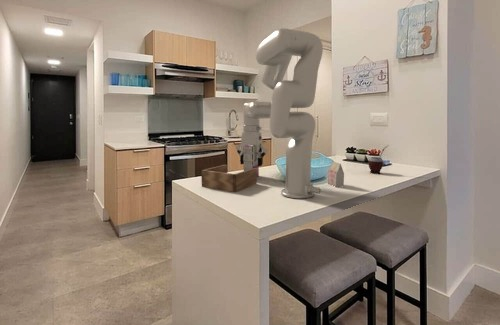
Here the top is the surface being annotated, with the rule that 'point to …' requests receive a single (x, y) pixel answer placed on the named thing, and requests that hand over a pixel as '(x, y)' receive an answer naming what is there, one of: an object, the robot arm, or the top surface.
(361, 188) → the top surface
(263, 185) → the top surface
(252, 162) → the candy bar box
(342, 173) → the toy house
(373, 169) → the mate gourd
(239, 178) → the walnut crate
